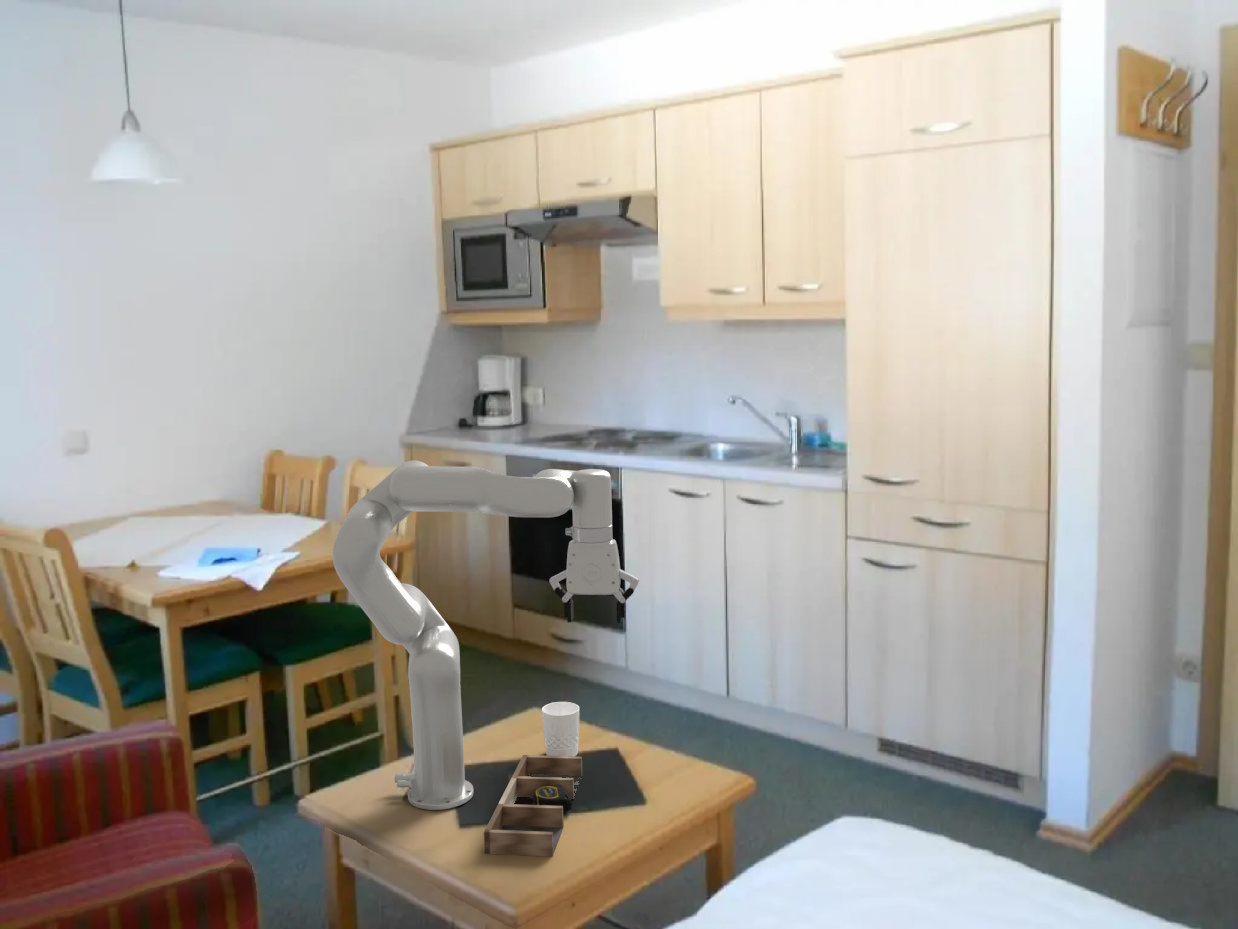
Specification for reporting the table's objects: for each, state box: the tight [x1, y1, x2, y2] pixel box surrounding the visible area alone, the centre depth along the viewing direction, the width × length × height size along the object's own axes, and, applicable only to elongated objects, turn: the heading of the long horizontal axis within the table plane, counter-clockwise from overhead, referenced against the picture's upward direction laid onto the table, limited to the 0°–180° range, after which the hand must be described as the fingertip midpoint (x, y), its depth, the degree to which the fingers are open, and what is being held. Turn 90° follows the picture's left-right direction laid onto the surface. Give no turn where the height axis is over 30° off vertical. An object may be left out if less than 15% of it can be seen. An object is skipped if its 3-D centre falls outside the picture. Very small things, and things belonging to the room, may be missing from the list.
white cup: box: [541, 701, 580, 756], centre depth 240 cm, size 8×8×10 cm
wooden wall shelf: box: [483, 754, 583, 857], centre depth 214 cm, size 12×33×4 cm, turn 173°
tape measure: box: [532, 785, 573, 813], centre depth 214 cm, size 7×7×4 cm
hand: (595, 620), depth 220 cm, fingers open, 9 cm apart
